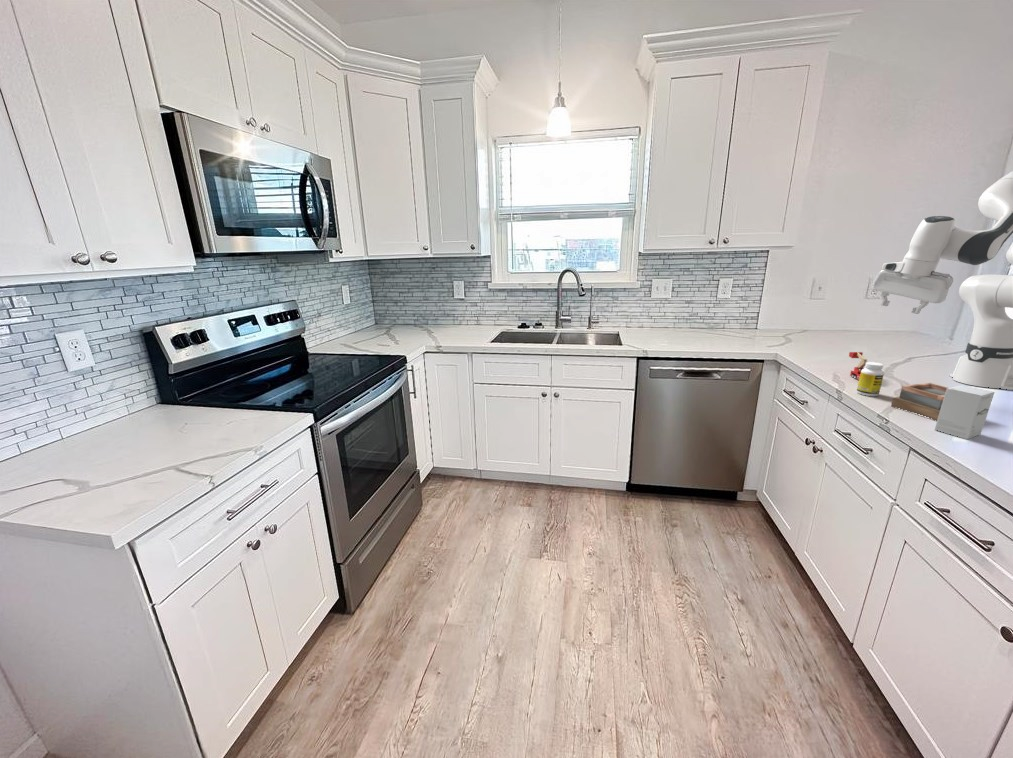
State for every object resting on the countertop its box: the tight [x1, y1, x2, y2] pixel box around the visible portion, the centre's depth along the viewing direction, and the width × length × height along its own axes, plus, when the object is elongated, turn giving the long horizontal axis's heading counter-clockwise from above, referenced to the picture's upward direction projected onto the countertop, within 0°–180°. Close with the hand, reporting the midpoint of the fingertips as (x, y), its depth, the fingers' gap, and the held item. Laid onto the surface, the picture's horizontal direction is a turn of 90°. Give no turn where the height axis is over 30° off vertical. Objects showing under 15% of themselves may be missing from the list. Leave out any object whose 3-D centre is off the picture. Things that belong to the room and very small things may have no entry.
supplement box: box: [934, 384, 995, 440], centre depth 120 cm, size 7×7×13 cm
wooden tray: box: [890, 382, 948, 422], centre depth 136 cm, size 13×13×7 cm
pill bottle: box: [856, 361, 885, 397], centre depth 152 cm, size 6×6×11 cm
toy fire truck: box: [848, 351, 868, 381], centre depth 169 cm, size 3×14×10 cm, turn 168°
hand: (899, 309), depth 150 cm, fingers open, 8 cm apart
